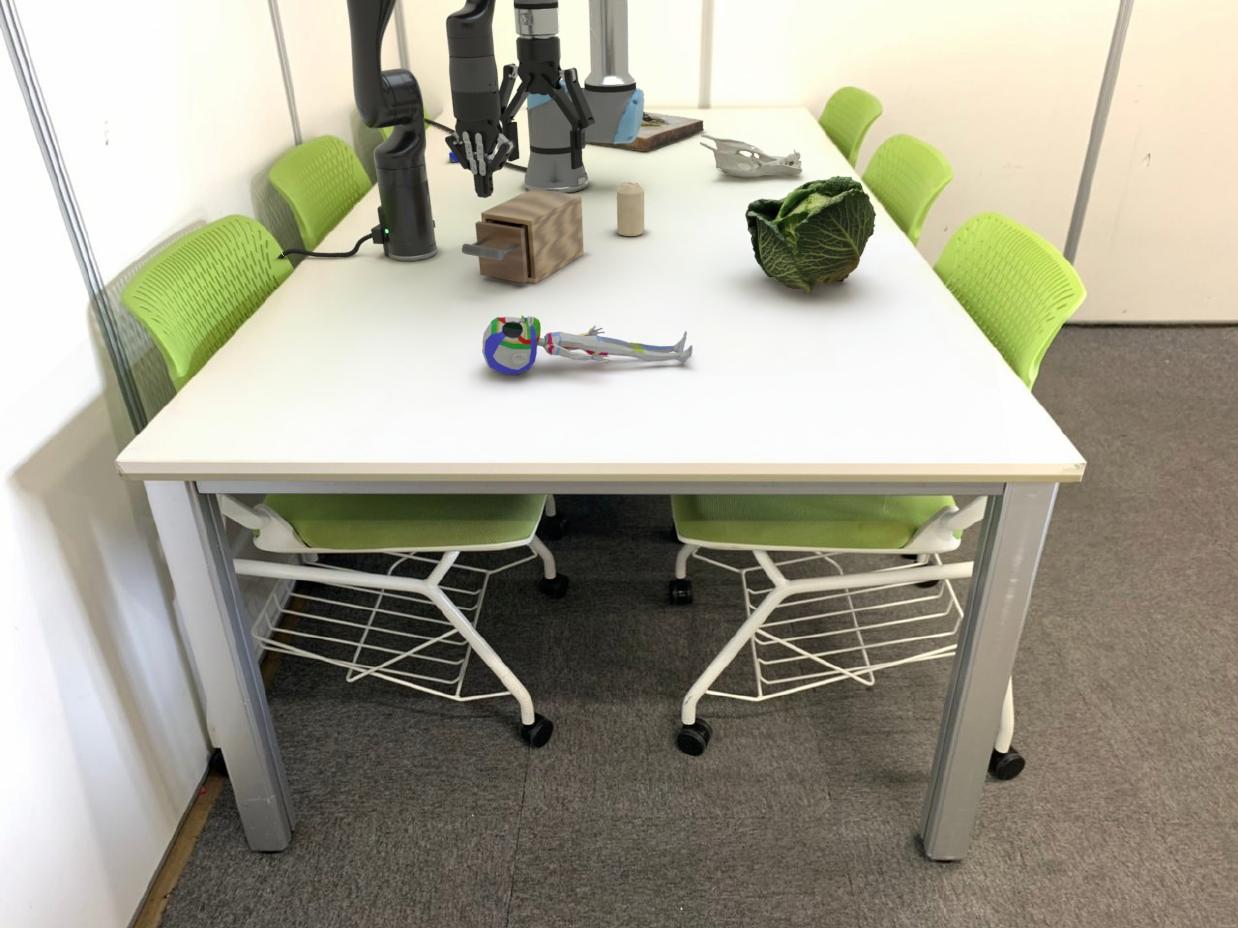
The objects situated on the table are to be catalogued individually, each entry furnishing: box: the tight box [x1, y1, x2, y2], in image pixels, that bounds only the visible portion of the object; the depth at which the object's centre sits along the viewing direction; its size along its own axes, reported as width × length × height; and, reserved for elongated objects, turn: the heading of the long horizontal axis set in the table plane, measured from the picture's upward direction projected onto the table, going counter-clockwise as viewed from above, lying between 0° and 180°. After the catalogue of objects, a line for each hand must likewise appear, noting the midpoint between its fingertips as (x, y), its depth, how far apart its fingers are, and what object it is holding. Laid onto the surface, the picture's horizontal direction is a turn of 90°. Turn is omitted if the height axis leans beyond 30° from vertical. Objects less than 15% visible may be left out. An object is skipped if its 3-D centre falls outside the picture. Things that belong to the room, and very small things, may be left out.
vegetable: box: [744, 175, 877, 294], centre depth 154 cm, size 20×19×20 cm
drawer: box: [461, 219, 531, 284], centre depth 162 cm, size 22×10×10 cm, turn 152°
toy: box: [481, 315, 694, 376], centre depth 131 cm, size 10×8×30 cm
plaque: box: [586, 110, 705, 152], centre depth 257 cm, size 30×7×30 cm
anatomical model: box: [699, 133, 803, 178], centre depth 218 cm, size 15×9×25 cm
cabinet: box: [480, 189, 585, 284], centre depth 166 cm, size 17×11×11 cm, turn 152°
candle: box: [616, 181, 645, 237], centre depth 181 cm, size 6×6×10 cm
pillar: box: [448, 150, 459, 163], centre depth 243 cm, size 2×2×20 cm
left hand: (485, 196), depth 150 cm, fingers closed
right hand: (544, 164), depth 164 cm, fingers open, 13 cm apart
